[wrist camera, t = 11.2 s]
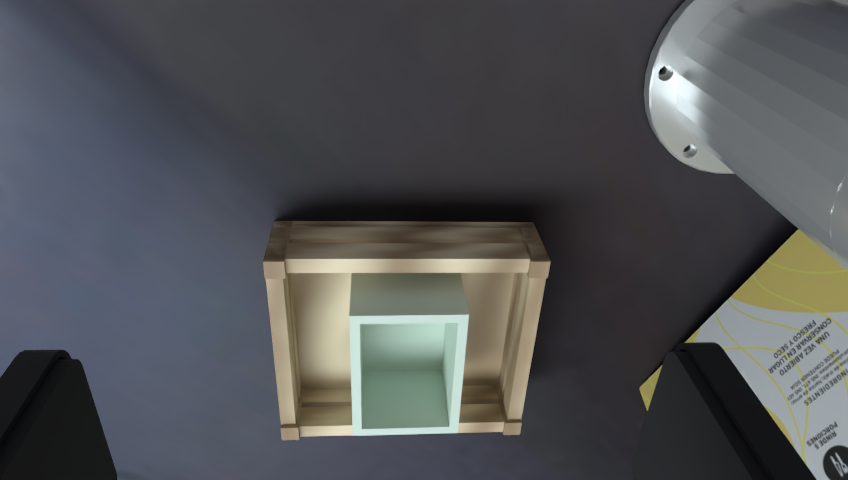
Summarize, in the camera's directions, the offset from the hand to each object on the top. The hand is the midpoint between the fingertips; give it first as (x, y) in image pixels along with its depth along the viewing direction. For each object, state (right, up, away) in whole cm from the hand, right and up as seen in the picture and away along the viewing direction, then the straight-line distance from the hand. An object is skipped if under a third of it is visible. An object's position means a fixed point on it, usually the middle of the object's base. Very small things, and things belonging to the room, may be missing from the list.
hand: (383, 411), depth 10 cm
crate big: (-1, -2, +35) cm, 35 cm away
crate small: (-1, -3, +34) cm, 34 cm away
